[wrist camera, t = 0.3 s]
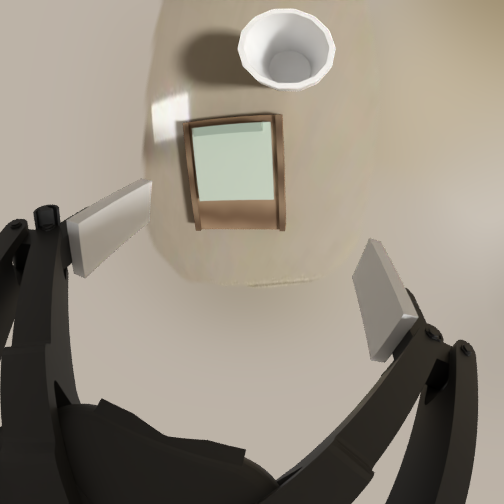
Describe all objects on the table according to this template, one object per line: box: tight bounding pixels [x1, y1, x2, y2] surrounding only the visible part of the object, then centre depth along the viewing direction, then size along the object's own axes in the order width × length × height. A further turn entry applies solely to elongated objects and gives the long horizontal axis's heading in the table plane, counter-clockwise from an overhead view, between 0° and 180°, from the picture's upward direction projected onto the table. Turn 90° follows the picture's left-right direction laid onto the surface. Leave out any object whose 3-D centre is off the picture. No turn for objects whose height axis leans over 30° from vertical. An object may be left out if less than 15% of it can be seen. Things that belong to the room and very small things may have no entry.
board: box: [183, 114, 286, 231], centre depth 39 cm, size 17×14×3 cm
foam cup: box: [238, 9, 336, 91], centre depth 26 cm, size 10×9×13 cm
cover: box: [192, 122, 274, 201], centre depth 36 cm, size 11×11×3 cm
